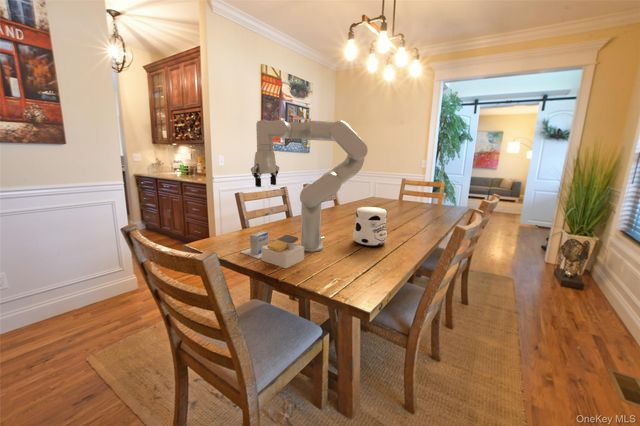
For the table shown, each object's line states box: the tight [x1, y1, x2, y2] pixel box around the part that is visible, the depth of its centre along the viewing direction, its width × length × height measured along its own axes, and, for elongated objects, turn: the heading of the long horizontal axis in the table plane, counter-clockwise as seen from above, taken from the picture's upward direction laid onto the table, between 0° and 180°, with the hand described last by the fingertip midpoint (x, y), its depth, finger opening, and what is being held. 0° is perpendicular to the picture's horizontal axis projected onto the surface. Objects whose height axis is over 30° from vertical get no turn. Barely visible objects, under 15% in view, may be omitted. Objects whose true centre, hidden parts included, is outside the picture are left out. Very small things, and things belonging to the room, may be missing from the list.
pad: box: [240, 247, 262, 260], centre depth 132 cm, size 12×12×1 cm
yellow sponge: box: [267, 234, 299, 252], centre depth 122 cm, size 12×7×2 cm, turn 145°
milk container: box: [352, 206, 388, 247], centre depth 146 cm, size 17×17×18 cm
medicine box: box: [249, 230, 269, 254], centre depth 131 cm, size 8×4×9 cm, turn 153°
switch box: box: [261, 238, 305, 269], centre depth 123 cm, size 12×14×9 cm
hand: (266, 185), depth 133 cm, fingers open, 9 cm apart
